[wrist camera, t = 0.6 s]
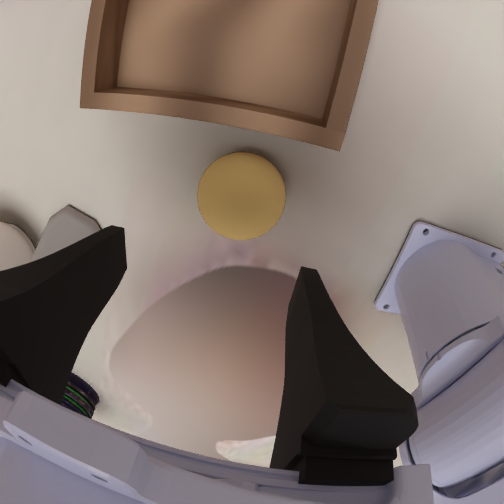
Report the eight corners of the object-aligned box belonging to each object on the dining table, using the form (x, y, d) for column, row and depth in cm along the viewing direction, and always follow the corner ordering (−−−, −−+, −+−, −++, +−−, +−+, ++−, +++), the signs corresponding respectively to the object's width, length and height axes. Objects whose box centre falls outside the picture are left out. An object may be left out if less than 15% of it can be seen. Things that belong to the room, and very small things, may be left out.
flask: (66, 189, 22) (-18, 259, 14) (128, 249, 25) (64, 339, 16) (40, 238, 26) (-26, 306, 17) (93, 289, 28) (39, 367, 20)
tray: (375, -37, 11) (388, -52, 9) (333, 138, 18) (339, 151, 15) (133, -60, 11) (110, -72, 9) (105, 100, 18) (79, 108, 16)
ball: (295, 152, 19) (294, 181, 15) (277, 223, 22) (271, 266, 17) (215, 135, 19) (190, 159, 15) (205, 206, 22) (182, 245, 17)
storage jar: (50, 356, 38) (4, 436, 25) (105, 393, 40) (68, 477, 28) (45, 378, 43) (8, 446, 30) (93, 409, 45) (62, 479, 33)
